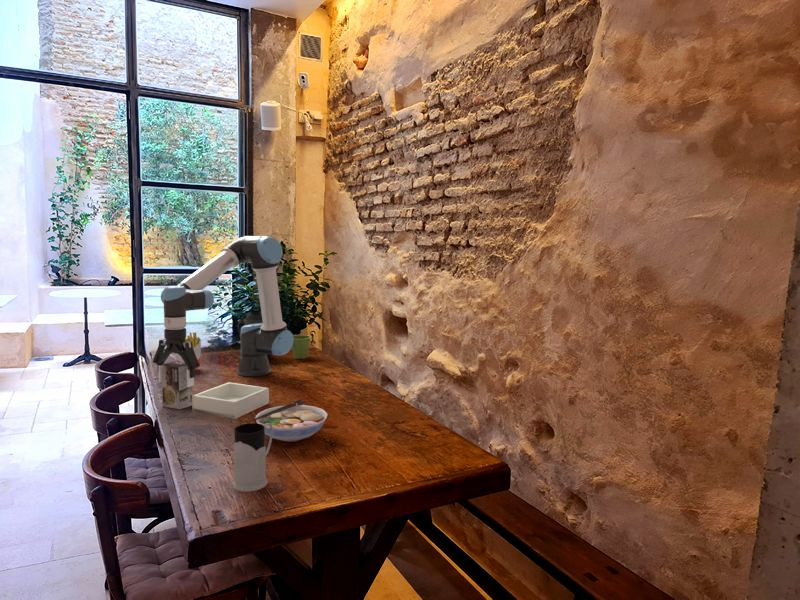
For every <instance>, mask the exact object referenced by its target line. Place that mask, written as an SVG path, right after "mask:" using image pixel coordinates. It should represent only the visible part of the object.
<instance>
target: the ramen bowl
mask: <svg viewBox="0 0 800 600" xmlns="http://www.w3.org/2000/svg"><path fill="white" fill-rule="evenodd" d="M305 403H306V400H302V399H297V400H295V401H292V402H291V403H288V404H286V405H278V406H273V407H270V408H266V409H264V410H262V411H260V412H258V413H257V414H256V415H255V417H254V418H252V419H250V420H248V421H247V423H251V422H254V421H256V423H258V424H262V425H265V424H266V423H270V424H272V427H273V436H272V439H274V440H278V441H282V442H286V443H293V442H299V441H302V440H304V439H306V438H310V437H311V436H313V435H314V434H316V433H317V432H319V431H320V429H321V428H322V427H323V426H324V425H325V422H326V420H327V418H328V414H329V413H328V412H326V410H324V409H323V408H320V407H317V406H312V405H306V404H305ZM265 435H267V436H268V437H270V426H269V424H268V425H267V426H266V428H265Z"/></svg>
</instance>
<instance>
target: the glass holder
mask: <svg viewBox="0 0 800 600" xmlns="http://www.w3.org/2000/svg"><path fill="white" fill-rule="evenodd" d="M268 424H269V426H270V436H269V439H268V440H269V441H268V445H267V447H266V443H265V442H266V441H265V439H266V438H265V437H266V436H265V435H266V434H265V428H266V426H267V425H268ZM233 432H234V433H233V434H234V443H233V457H234V458H233V461H234V462H233V463H234V464H233V465H234V466H233V468H234V469H233V471H234V472H233V473H234V474H233V475H234V481H233V483H232V488H233V489H234V490H235V491H239V492H255V491H258V490H261V489H264V488H265V487H266V486H267V485H268V483H269V481H268V479H267V477H266V475H267V472H266V471H267V469H266V467H267V466H266V462H267V460H266V458H267V455H268V454H269V451H270V448H271V446H272V442H273V438H272V436H273V427H272V424H270V423H266V424H265V425H262V424H258V423H257V422H254V423H253V422H252V423H251V422H247V423H242V424H240V425H237V426H235V427H234V431H233Z"/></svg>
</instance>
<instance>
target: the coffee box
mask: <svg viewBox="0 0 800 600" xmlns="http://www.w3.org/2000/svg"><path fill="white" fill-rule="evenodd" d="M175 361H176V360H175ZM175 361H170V362H166V363H165V364H163V365H161V374H162V382H161V388H162V389H161V392H162V407H166V408H170V409H176V410H183V409H185V408H188V407H193V406H192V395H193V389H192V388H193V386H191V387H187V369H188V367H187V365H186V364H185V363H182V362H175Z"/></svg>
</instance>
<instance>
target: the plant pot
mask: <svg viewBox="0 0 800 600" xmlns="http://www.w3.org/2000/svg"><path fill="white" fill-rule="evenodd" d="M293 338H294V340H293V345H292V347H291V350H292V355H293V358H294V359H297V360H298V359H299V360H300V359H303V360H304V359H306V358H308V355H309V347H310V342H311V339H312V336H311V335H307V334H293Z"/></svg>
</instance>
